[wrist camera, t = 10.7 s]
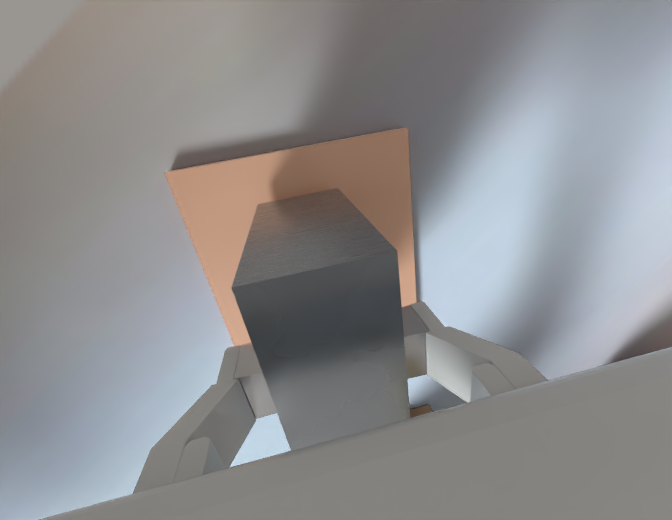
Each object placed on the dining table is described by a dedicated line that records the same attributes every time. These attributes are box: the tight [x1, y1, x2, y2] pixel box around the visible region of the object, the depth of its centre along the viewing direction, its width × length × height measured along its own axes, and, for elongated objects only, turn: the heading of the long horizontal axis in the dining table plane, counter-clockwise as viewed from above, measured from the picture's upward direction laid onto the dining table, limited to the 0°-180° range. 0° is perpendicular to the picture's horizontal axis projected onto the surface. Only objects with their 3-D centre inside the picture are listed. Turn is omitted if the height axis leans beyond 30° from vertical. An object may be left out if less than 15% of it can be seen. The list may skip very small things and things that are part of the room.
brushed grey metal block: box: [231, 188, 410, 451], centre depth 12 cm, size 8×4×8 cm, turn 9°
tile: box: [165, 128, 417, 346], centre depth 17 cm, size 12×12×1 cm
